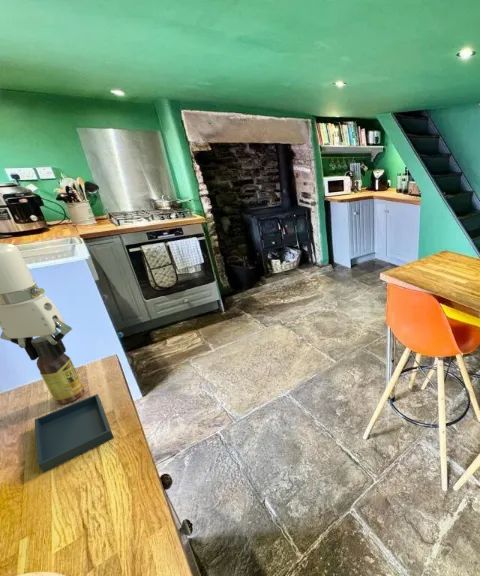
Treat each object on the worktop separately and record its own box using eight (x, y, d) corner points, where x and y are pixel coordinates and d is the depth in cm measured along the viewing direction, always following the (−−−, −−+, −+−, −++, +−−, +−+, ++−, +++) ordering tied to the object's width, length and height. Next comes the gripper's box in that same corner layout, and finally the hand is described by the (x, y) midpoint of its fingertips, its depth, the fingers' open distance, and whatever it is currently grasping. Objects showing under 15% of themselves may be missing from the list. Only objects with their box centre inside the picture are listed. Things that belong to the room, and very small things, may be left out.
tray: (38, 426, 77) (34, 419, 76) (100, 400, 86) (97, 393, 85) (43, 472, 67) (38, 465, 66) (113, 437, 75) (110, 430, 74)
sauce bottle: (83, 399, 86) (55, 341, 78) (53, 408, 83) (19, 349, 75) (87, 385, 91) (61, 329, 83) (59, 393, 88) (28, 336, 79)
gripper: (69, 285, 79) (95, 343, 86) (-15, 291, 74) (20, 352, 82) (48, 298, 72) (78, 359, 80) (-44, 305, 68) (-3, 369, 75)
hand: (49, 355), depth 81 cm, fingers closed on sauce bottle, 4 cm apart
